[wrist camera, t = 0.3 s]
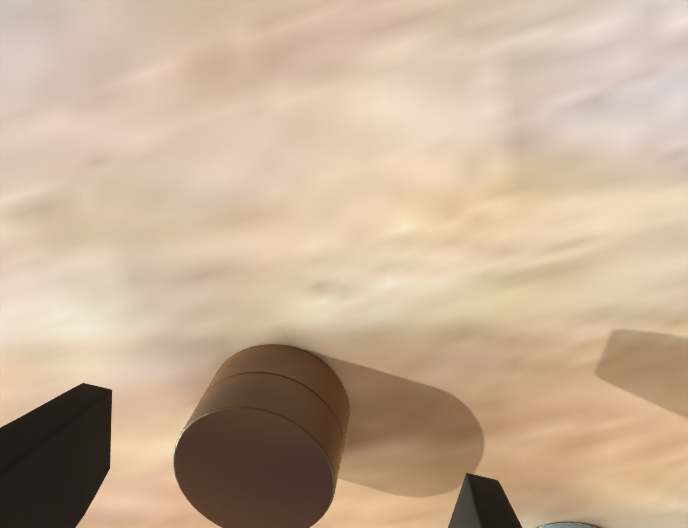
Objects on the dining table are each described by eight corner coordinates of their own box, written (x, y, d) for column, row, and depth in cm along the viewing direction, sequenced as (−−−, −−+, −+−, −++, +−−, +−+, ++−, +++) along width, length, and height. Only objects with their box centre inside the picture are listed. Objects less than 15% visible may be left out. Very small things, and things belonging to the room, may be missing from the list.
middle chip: (330, 510, 23) (321, 554, 21) (189, 478, 23) (168, 518, 21) (355, 391, 21) (348, 428, 19) (198, 357, 21) (176, 390, 19)
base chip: (337, 474, 25) (330, 510, 23) (206, 444, 25) (189, 478, 23) (361, 360, 22) (355, 391, 21) (217, 329, 23) (198, 357, 21)
